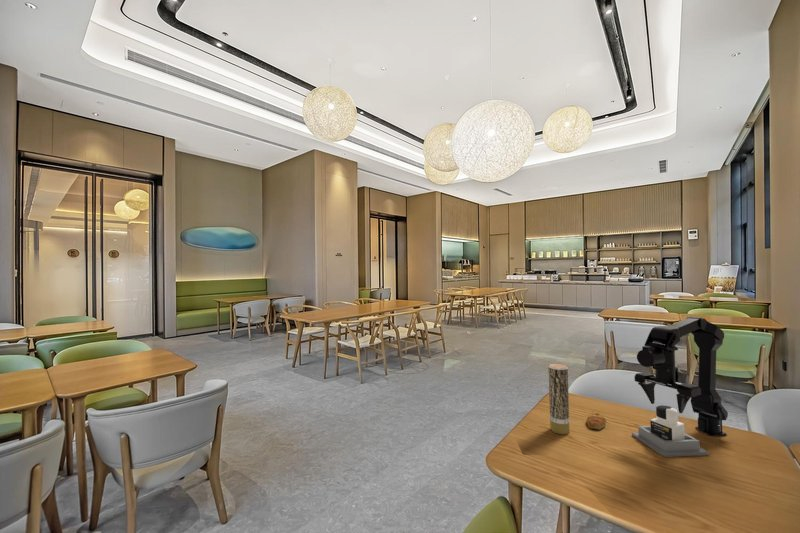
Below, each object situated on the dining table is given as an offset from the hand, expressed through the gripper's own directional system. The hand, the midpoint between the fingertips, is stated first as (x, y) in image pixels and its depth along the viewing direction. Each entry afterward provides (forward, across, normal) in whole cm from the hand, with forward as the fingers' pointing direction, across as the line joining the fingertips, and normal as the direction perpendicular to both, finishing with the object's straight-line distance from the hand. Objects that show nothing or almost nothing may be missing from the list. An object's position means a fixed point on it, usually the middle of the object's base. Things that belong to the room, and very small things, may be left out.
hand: (666, 408), depth 122 cm
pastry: (+13, +21, +8) cm, 26 cm away
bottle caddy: (+13, 0, 0) cm, 13 cm away
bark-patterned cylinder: (+13, +23, +26) cm, 37 cm away
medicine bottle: (+12, 0, 0) cm, 12 cm away
